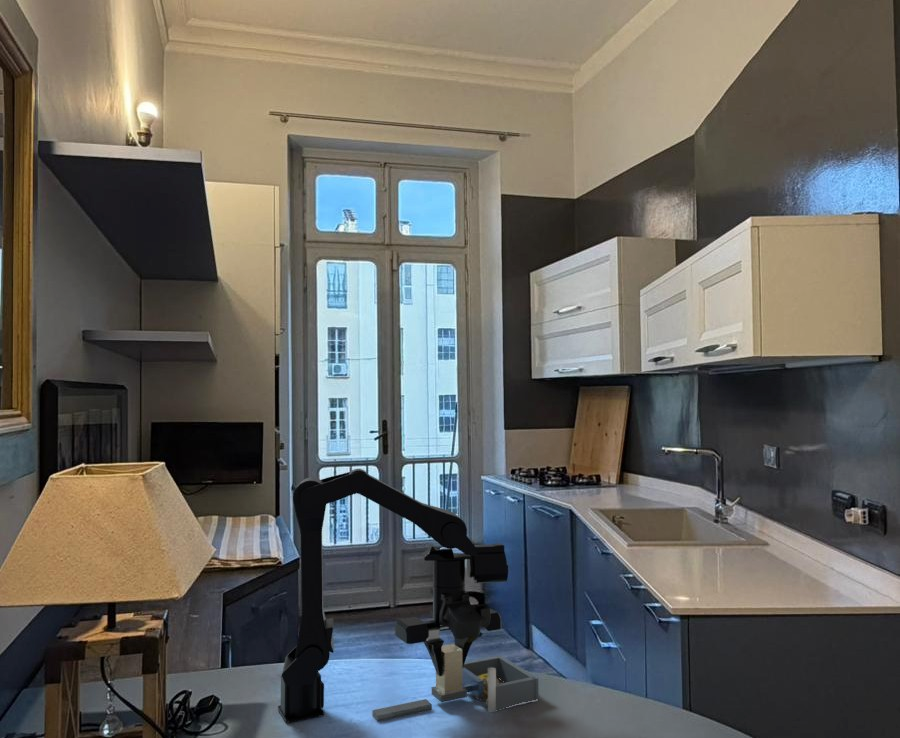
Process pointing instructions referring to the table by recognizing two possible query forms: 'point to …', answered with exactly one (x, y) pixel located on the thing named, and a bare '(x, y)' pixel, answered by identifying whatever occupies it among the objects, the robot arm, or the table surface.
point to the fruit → (485, 686)
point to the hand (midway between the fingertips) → (449, 673)
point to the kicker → (455, 677)
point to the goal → (516, 680)
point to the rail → (401, 710)
